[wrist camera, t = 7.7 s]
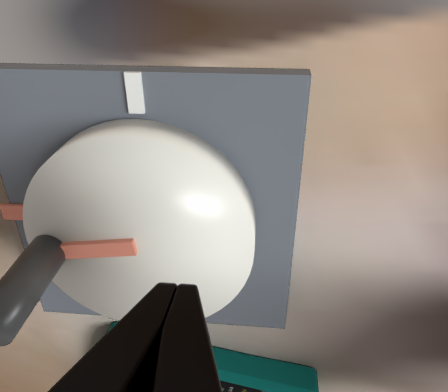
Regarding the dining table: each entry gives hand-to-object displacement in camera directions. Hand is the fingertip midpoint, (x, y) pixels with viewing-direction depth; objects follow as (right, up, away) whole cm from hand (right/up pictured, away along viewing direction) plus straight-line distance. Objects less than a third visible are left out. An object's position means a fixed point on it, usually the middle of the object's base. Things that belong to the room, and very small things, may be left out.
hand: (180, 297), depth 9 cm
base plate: (-3, +2, +13) cm, 14 cm away
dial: (-3, +1, +12) cm, 13 cm away
